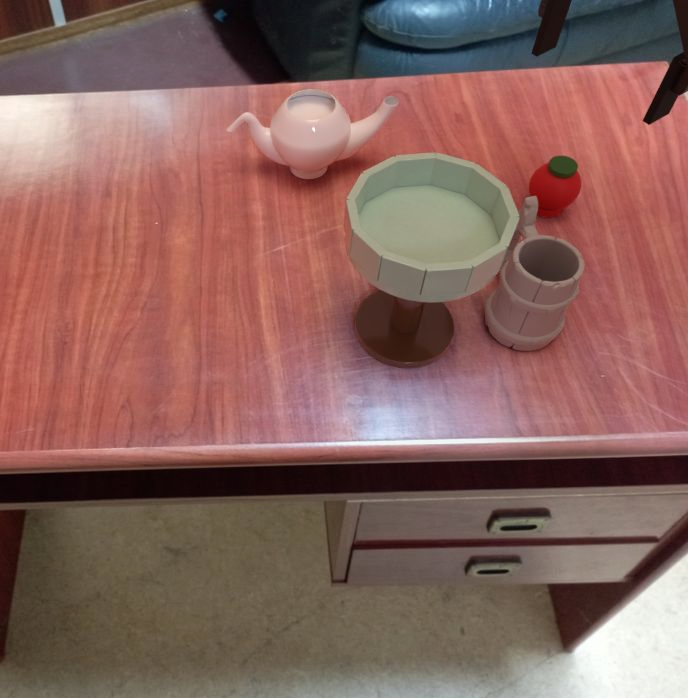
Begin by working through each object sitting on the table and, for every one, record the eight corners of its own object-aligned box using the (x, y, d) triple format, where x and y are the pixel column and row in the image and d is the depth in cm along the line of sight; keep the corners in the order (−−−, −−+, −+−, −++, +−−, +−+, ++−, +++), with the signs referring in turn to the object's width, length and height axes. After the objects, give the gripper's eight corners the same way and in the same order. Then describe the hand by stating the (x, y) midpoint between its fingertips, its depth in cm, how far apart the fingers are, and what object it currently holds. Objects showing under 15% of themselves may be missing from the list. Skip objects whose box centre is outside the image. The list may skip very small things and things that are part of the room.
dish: (501, 341, 74) (553, 220, 60) (395, 409, 70) (424, 296, 56) (409, 258, 81) (437, 133, 67) (308, 316, 77) (315, 195, 63)
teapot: (229, 146, 94) (224, 83, 86) (384, 138, 93) (393, 74, 85) (229, 197, 88) (224, 135, 81) (394, 190, 87) (405, 126, 80)
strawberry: (581, 210, 83) (600, 167, 78) (547, 230, 82) (565, 188, 77) (545, 184, 86) (562, 141, 81) (512, 203, 85) (527, 161, 80)
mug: (496, 359, 72) (530, 281, 63) (459, 271, 79) (485, 188, 69) (571, 348, 73) (616, 269, 63) (527, 262, 79) (562, 178, 70)
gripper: (534, -205, 58) (476, 38, 76) (833, -96, 46) (681, 166, 63) (599, -229, 60) (528, 13, 78) (903, -131, 48) (737, 133, 65)
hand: (596, 82), depth 70 cm, fingers open, 13 cm apart
